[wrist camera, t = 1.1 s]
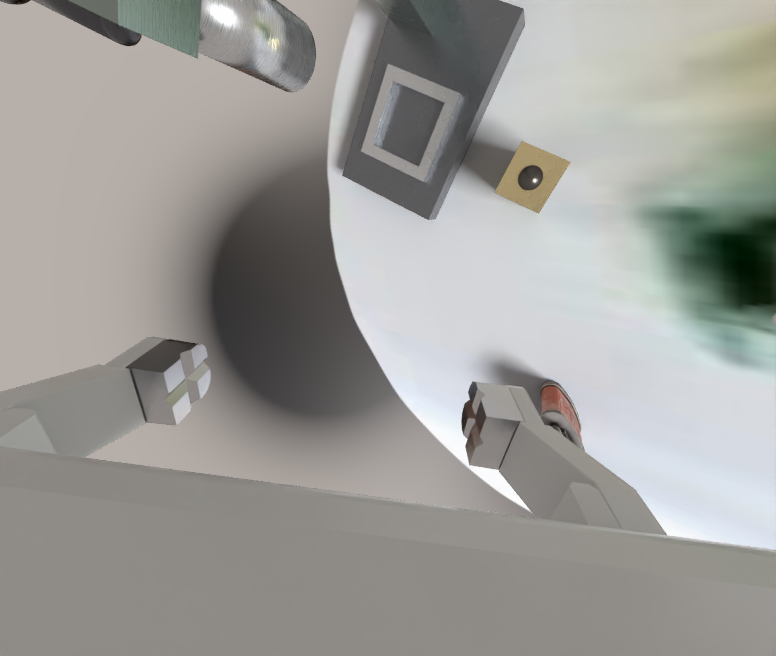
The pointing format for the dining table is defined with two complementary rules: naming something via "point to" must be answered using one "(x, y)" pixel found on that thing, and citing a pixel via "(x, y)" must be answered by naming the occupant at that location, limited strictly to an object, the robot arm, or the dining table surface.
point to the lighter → (560, 412)
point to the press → (387, 84)
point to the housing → (531, 177)
